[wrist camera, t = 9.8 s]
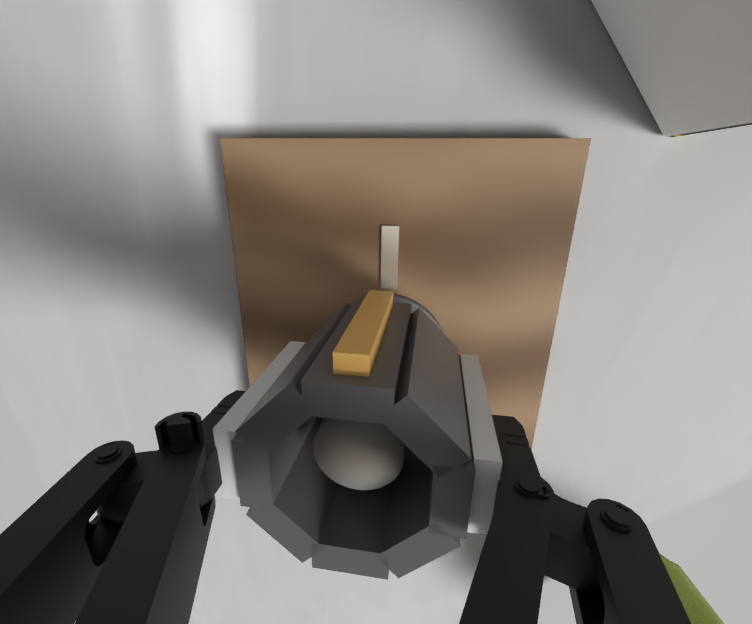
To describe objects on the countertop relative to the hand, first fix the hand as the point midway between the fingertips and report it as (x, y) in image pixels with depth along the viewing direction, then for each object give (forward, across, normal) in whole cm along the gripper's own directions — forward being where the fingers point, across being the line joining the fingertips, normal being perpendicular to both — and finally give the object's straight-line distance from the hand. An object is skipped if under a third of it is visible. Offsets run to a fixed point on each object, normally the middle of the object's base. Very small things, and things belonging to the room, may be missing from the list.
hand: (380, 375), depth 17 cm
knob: (0, 0, 0) cm, 0 cm away
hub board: (+4, 0, 0) cm, 4 cm away
